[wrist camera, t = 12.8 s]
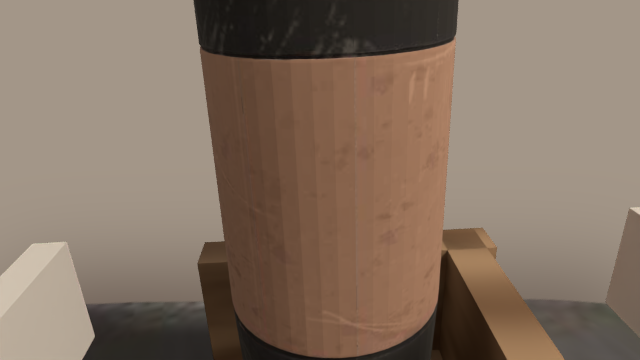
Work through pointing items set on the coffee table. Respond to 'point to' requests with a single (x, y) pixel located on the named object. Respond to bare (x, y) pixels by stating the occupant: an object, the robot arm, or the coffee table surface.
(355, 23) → the travel mug
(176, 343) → the coffee table surface
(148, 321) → the coffee table surface
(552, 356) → the wooden holder
